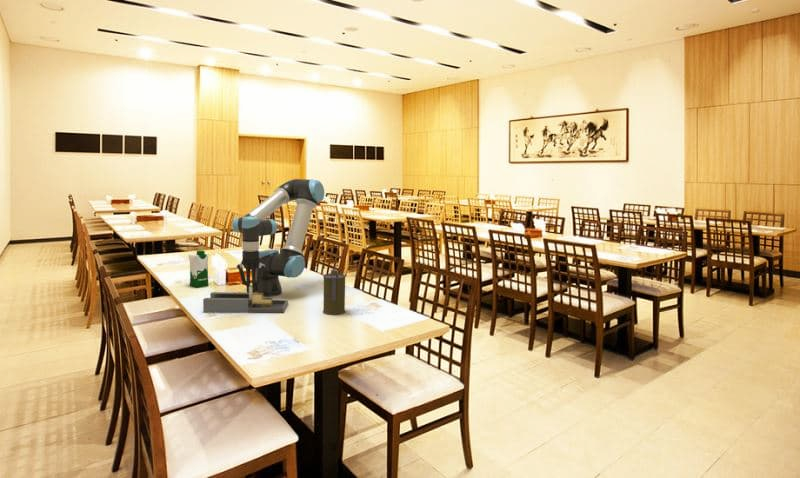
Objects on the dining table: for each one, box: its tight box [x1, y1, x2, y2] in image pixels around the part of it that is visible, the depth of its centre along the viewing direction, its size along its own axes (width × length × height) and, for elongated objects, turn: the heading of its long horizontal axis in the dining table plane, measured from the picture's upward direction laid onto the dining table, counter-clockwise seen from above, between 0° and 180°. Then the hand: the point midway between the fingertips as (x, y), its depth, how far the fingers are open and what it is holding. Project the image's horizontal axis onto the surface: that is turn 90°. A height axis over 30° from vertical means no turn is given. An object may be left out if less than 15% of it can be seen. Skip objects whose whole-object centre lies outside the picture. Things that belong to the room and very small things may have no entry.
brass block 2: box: [262, 296, 274, 308], centre depth 236 cm, size 4×4×4 cm
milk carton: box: [187, 249, 210, 289], centre depth 277 cm, size 9×9×20 cm
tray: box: [247, 299, 289, 314], centre depth 237 cm, size 16×15×2 cm
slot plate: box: [202, 291, 252, 314], centre depth 235 cm, size 20×14×6 cm
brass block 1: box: [252, 293, 264, 304], centre depth 236 cm, size 4×4×4 cm
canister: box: [322, 268, 347, 316], centre depth 233 cm, size 11×10×20 cm
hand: (251, 299), depth 236 cm, fingers closed
